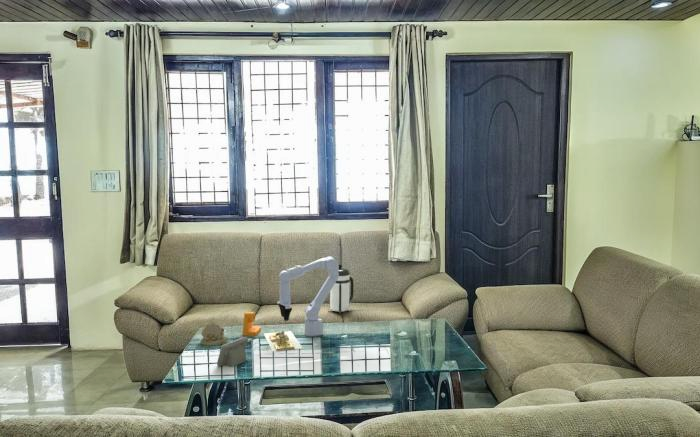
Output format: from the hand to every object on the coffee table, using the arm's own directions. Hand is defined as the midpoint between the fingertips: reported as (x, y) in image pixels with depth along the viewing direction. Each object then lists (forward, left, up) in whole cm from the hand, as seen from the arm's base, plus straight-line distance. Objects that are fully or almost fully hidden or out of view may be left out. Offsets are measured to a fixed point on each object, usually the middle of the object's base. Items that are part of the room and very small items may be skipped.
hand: (284, 318), depth 274 cm
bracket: (+16, -10, -10) cm, 21 cm away
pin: (+4, +12, -9) cm, 16 cm away
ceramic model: (+36, -3, -10) cm, 38 cm away
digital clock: (+30, +29, -10) cm, 43 cm away
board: (+3, +8, -10) cm, 13 cm away
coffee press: (-43, -39, -10) cm, 59 cm away
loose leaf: (+4, +4, -9) cm, 11 cm away
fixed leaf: (+4, +16, -9) cm, 18 cm away
